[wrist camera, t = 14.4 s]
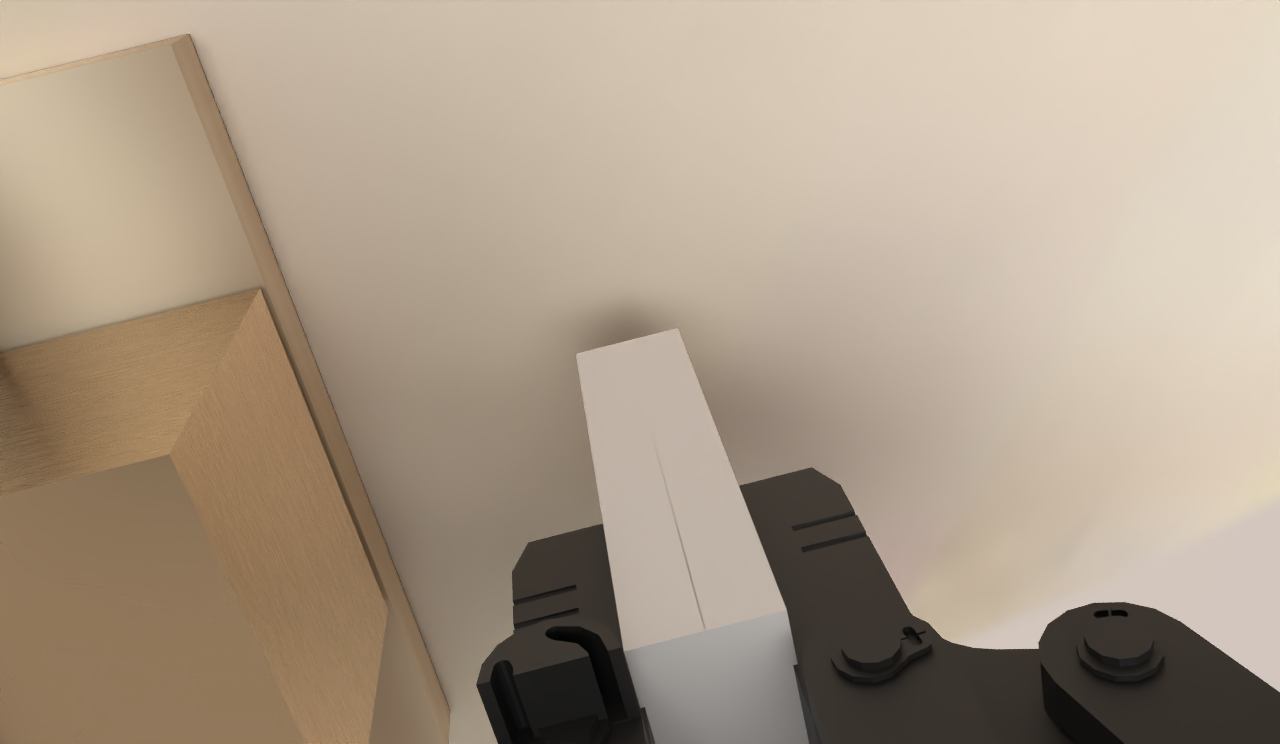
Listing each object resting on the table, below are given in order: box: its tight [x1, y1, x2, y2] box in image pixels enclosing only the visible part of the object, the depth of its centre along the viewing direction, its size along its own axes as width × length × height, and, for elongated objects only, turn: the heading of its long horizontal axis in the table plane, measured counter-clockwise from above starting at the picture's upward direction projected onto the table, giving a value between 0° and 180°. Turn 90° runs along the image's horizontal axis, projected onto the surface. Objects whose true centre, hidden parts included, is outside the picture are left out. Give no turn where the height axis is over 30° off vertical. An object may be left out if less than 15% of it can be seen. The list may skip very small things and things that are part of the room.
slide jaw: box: [0, 288, 388, 744], centre depth 15 cm, size 6×12×6 cm, turn 13°
